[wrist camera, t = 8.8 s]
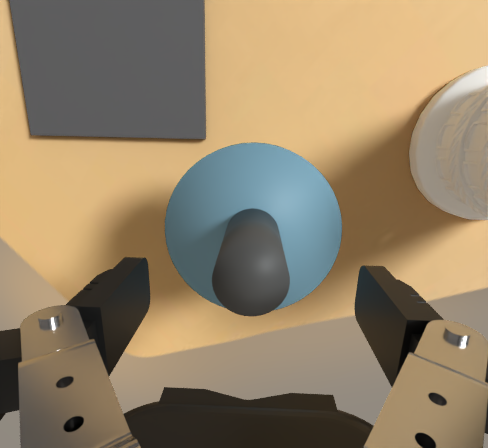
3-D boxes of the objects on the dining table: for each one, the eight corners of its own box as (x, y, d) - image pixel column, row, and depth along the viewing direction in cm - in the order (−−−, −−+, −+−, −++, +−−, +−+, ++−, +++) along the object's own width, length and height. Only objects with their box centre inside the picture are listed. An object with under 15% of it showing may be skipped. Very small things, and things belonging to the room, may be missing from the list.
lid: (166, 141, 18) (108, 145, 11) (344, 143, 18) (402, 150, 11) (174, 299, 21) (133, 383, 14) (329, 304, 20) (366, 393, 13)
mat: (3, -74, 22) (-4, -80, 21) (203, -74, 22) (202, -79, 21) (35, 135, 26) (30, 135, 25) (205, 138, 26) (204, 139, 25)
